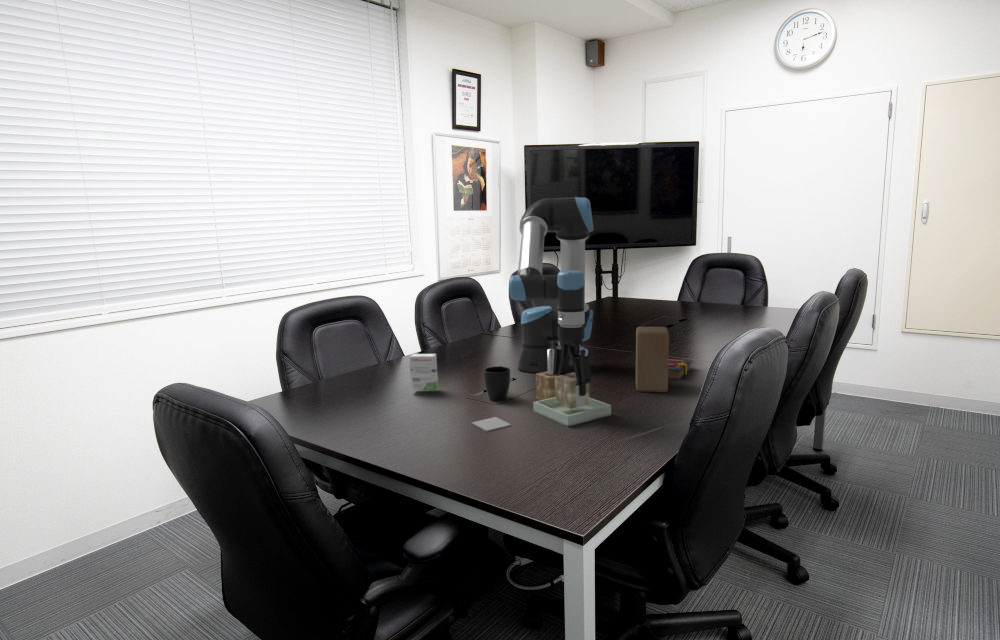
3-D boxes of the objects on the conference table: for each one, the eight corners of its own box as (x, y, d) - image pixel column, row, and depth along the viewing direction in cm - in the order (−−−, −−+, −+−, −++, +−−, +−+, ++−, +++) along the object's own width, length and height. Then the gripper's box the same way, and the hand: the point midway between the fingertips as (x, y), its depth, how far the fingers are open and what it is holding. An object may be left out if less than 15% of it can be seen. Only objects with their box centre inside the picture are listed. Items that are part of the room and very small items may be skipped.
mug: (514, 391, 198) (514, 363, 196) (508, 402, 186) (507, 373, 184) (490, 390, 199) (489, 363, 198) (482, 401, 188) (481, 372, 186)
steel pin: (546, 398, 189) (545, 349, 186) (552, 397, 190) (551, 348, 187) (550, 400, 187) (550, 350, 184) (556, 398, 188) (555, 349, 186)
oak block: (536, 398, 190) (535, 373, 188) (553, 394, 193) (553, 370, 192) (549, 403, 184) (548, 378, 183) (567, 399, 188) (566, 374, 186)
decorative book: (647, 378, 210) (647, 364, 209) (662, 368, 223) (662, 355, 222) (680, 382, 204) (680, 368, 203) (692, 371, 217) (693, 358, 216)
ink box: (438, 386, 207) (437, 353, 205) (435, 390, 202) (434, 356, 200) (414, 386, 207) (412, 353, 205) (411, 390, 202) (409, 356, 200)
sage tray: (533, 411, 177) (533, 402, 176) (575, 401, 185) (575, 392, 184) (567, 426, 163) (567, 416, 163) (611, 415, 172) (611, 405, 171)
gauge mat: (471, 423, 168) (471, 422, 168) (495, 418, 172) (495, 416, 172) (486, 431, 161) (486, 430, 161) (511, 425, 165) (510, 424, 165)
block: (668, 393, 191) (669, 332, 188) (636, 392, 193) (636, 331, 190) (665, 384, 201) (667, 326, 197) (635, 383, 203) (636, 326, 199)
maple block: (555, 402, 175) (554, 376, 173) (573, 398, 178) (573, 372, 177) (570, 408, 169) (570, 381, 168) (589, 404, 173) (589, 377, 171)
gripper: (539, 322, 176) (541, 397, 180) (583, 331, 159) (584, 414, 163) (559, 319, 180) (560, 392, 184) (604, 328, 163) (604, 408, 167)
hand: (571, 402), depth 174 cm, fingers closed on maple block, 7 cm apart
